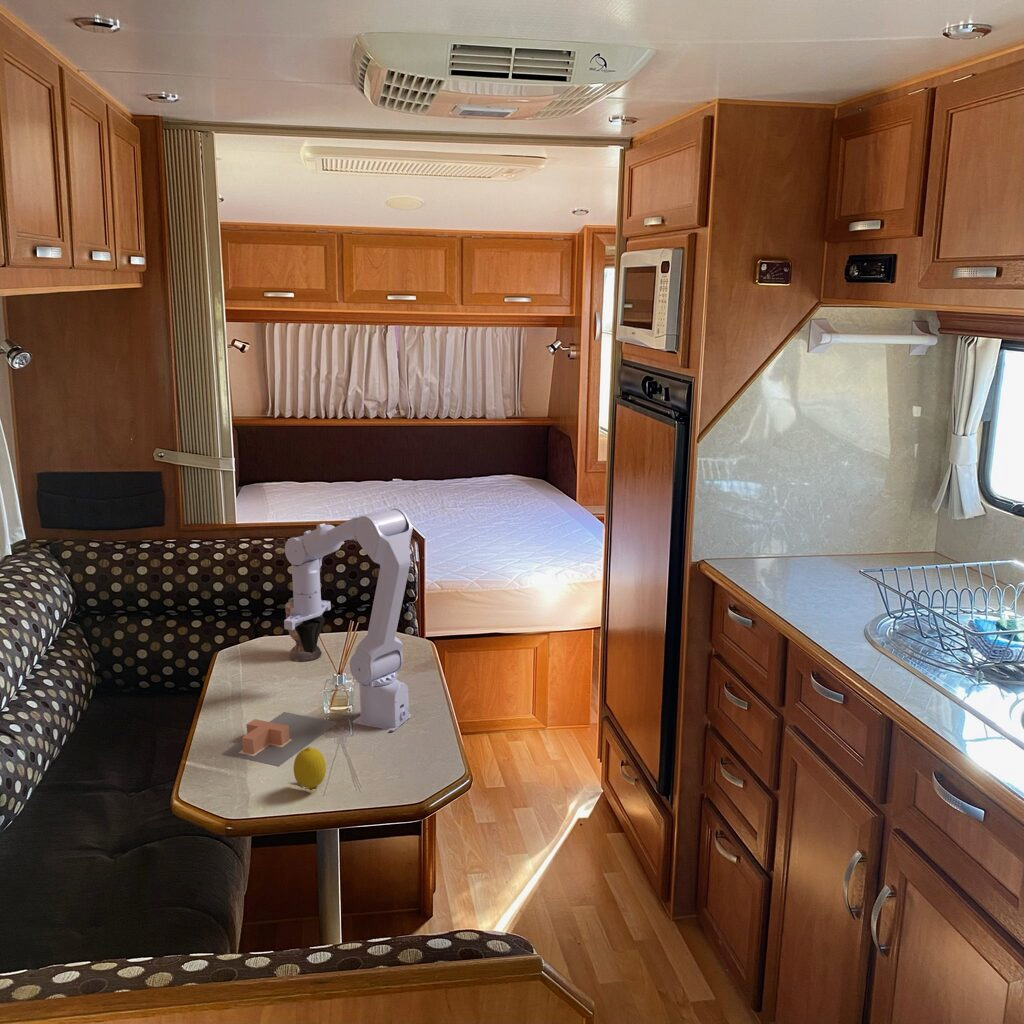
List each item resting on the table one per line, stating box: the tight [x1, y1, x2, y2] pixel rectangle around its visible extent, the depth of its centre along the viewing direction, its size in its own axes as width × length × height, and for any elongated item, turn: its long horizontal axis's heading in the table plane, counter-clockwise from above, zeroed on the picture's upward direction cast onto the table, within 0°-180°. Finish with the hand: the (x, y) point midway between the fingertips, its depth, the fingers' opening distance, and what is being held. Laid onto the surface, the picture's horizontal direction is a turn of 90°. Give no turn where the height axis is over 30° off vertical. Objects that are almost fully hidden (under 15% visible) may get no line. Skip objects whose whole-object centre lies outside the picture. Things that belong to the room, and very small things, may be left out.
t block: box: [241, 718, 290, 754], centre depth 186 cm, size 8×8×3 cm
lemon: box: [293, 746, 327, 791], centre depth 170 cm, size 6×6×8 cm
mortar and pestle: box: [284, 600, 323, 662], centre depth 232 cm, size 12×9×20 cm
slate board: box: [221, 711, 339, 767], centre depth 189 cm, size 13×20×1 cm, turn 158°
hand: (309, 651), depth 209 cm, fingers closed
